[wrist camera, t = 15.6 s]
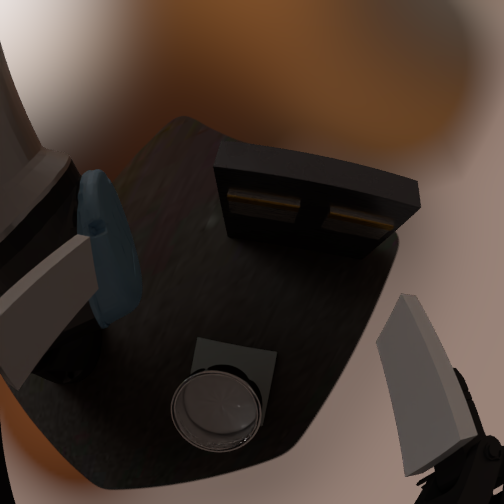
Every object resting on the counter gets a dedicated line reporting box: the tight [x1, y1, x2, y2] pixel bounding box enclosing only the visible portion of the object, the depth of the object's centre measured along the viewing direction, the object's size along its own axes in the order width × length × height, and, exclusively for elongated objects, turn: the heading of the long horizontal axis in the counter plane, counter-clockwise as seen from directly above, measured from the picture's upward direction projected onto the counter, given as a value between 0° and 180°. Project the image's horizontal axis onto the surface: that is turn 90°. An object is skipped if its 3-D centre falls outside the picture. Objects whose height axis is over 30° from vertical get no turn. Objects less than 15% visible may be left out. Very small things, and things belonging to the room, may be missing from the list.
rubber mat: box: [190, 337, 277, 426], centre depth 31 cm, size 10×10×1 cm
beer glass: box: [171, 360, 263, 452], centre depth 24 cm, size 7×7×15 cm
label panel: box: [213, 141, 421, 259], centre depth 30 cm, size 19×6×16 cm, turn 80°
